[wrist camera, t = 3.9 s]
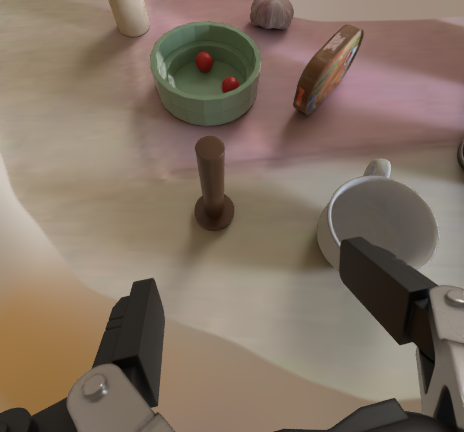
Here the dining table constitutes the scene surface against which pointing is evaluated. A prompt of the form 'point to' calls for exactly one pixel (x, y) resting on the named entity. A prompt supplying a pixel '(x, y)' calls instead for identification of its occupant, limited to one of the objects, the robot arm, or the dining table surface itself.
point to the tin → (327, 69)
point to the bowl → (205, 83)
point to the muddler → (212, 185)
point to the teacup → (379, 218)
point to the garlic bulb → (271, 13)
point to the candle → (130, 16)
